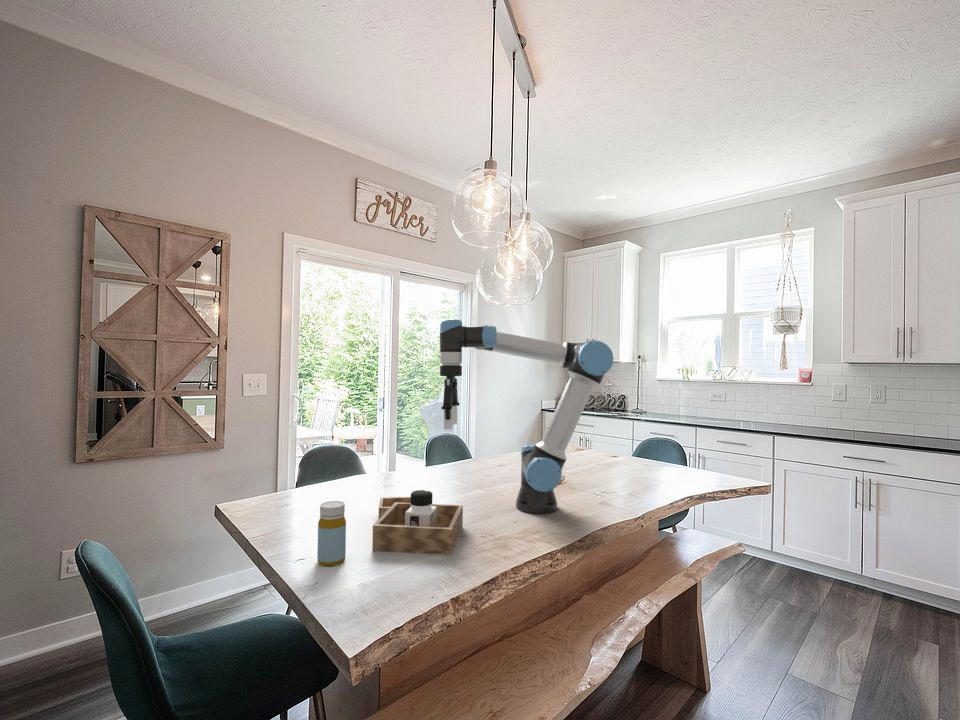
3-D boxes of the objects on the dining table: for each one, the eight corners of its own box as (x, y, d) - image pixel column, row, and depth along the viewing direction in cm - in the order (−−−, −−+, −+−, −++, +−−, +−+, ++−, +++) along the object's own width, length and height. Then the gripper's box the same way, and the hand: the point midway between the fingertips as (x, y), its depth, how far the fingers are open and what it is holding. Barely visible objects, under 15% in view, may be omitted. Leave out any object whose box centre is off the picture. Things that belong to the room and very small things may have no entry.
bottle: (321, 556, 125) (322, 500, 126) (347, 555, 126) (348, 500, 126) (314, 567, 118) (315, 508, 119) (342, 566, 119) (343, 508, 119)
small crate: (415, 513, 163) (415, 496, 163) (415, 524, 151) (416, 506, 151) (380, 514, 161) (380, 497, 161) (378, 526, 149) (378, 508, 149)
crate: (462, 526, 150) (462, 505, 150) (451, 554, 127) (452, 529, 128) (394, 523, 152) (395, 502, 152) (372, 550, 130) (372, 525, 130)
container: (429, 540, 135) (430, 495, 135) (404, 538, 137) (405, 493, 137) (436, 531, 143) (437, 488, 143) (412, 529, 144) (413, 487, 144)
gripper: (445, 364, 172) (445, 422, 172) (433, 364, 147) (433, 431, 147) (465, 364, 171) (465, 422, 171) (457, 364, 146) (457, 431, 146)
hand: (450, 426), depth 159 cm, fingers open, 13 cm apart
